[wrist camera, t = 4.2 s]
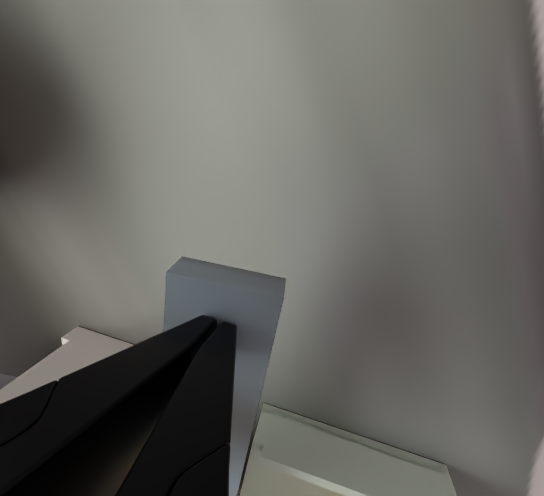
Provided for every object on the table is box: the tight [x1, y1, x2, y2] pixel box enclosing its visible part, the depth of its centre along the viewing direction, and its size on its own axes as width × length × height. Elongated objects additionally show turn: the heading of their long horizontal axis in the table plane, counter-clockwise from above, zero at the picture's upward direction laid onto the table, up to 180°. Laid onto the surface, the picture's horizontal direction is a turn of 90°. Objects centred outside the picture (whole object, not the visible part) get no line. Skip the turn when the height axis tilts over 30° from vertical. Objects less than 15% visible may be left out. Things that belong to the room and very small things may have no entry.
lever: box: [0, 257, 286, 496], centre depth 11 cm, size 18×15×5 cm
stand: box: [0, 327, 133, 404], centre depth 14 cm, size 12×4×6 cm, turn 169°
